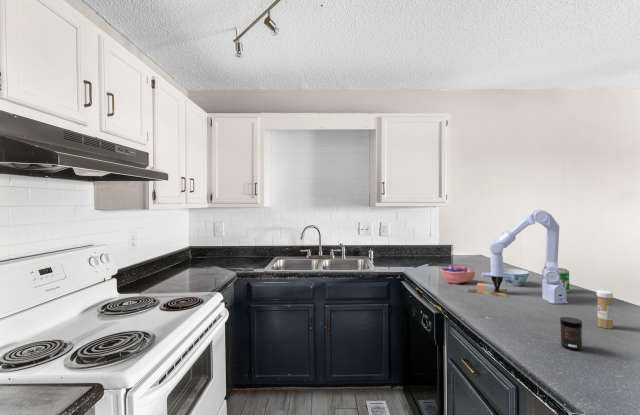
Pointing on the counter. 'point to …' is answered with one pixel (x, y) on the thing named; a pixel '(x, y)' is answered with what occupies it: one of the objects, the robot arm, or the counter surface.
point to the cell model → (457, 274)
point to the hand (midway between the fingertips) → (497, 291)
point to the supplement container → (571, 333)
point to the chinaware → (516, 276)
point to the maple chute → (491, 292)
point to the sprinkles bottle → (605, 309)
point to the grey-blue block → (489, 288)
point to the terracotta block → (480, 287)
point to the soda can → (564, 278)
